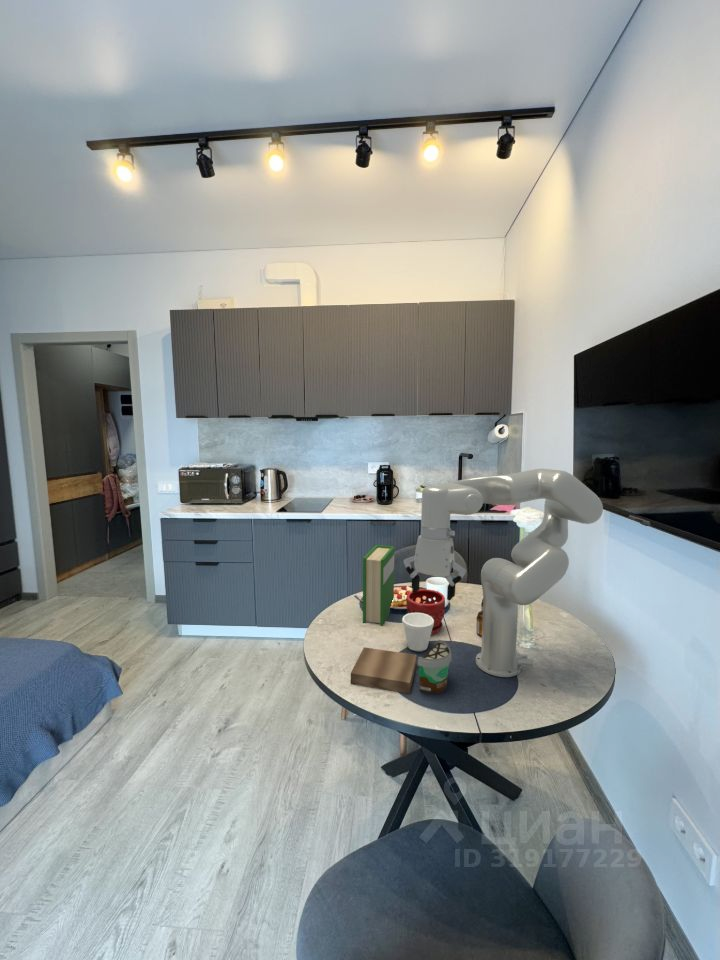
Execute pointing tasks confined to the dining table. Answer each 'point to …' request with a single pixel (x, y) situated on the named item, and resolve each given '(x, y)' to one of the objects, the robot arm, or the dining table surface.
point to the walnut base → (384, 670)
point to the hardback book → (378, 583)
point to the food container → (434, 668)
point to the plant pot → (428, 606)
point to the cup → (417, 630)
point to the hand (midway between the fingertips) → (432, 594)
